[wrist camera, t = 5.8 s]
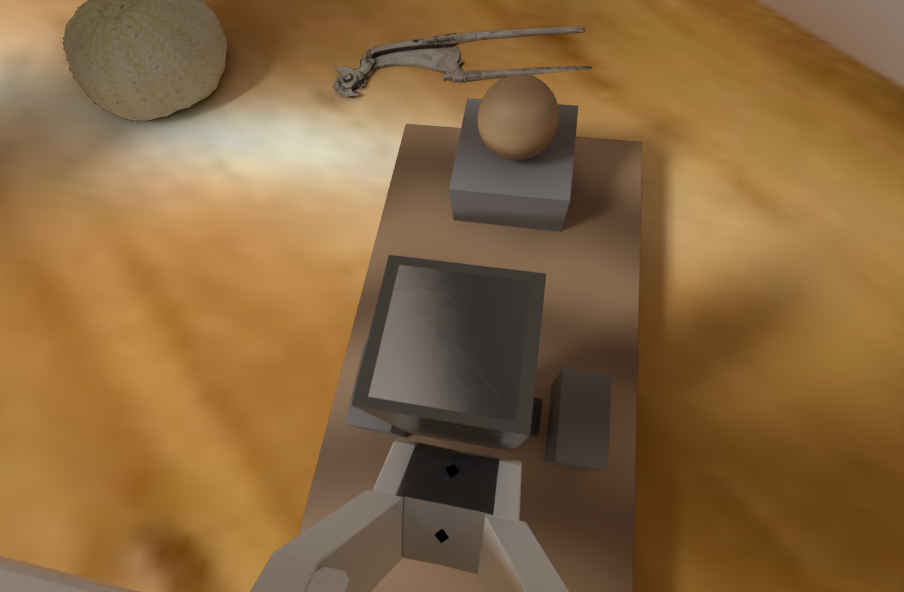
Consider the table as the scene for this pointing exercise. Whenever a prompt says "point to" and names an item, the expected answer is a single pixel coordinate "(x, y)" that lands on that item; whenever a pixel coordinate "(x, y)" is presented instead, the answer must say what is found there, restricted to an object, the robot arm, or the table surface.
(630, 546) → the nutcracker bench
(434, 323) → the lever
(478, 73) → the nutcracker
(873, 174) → the table surface
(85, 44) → the sea urchin shell
